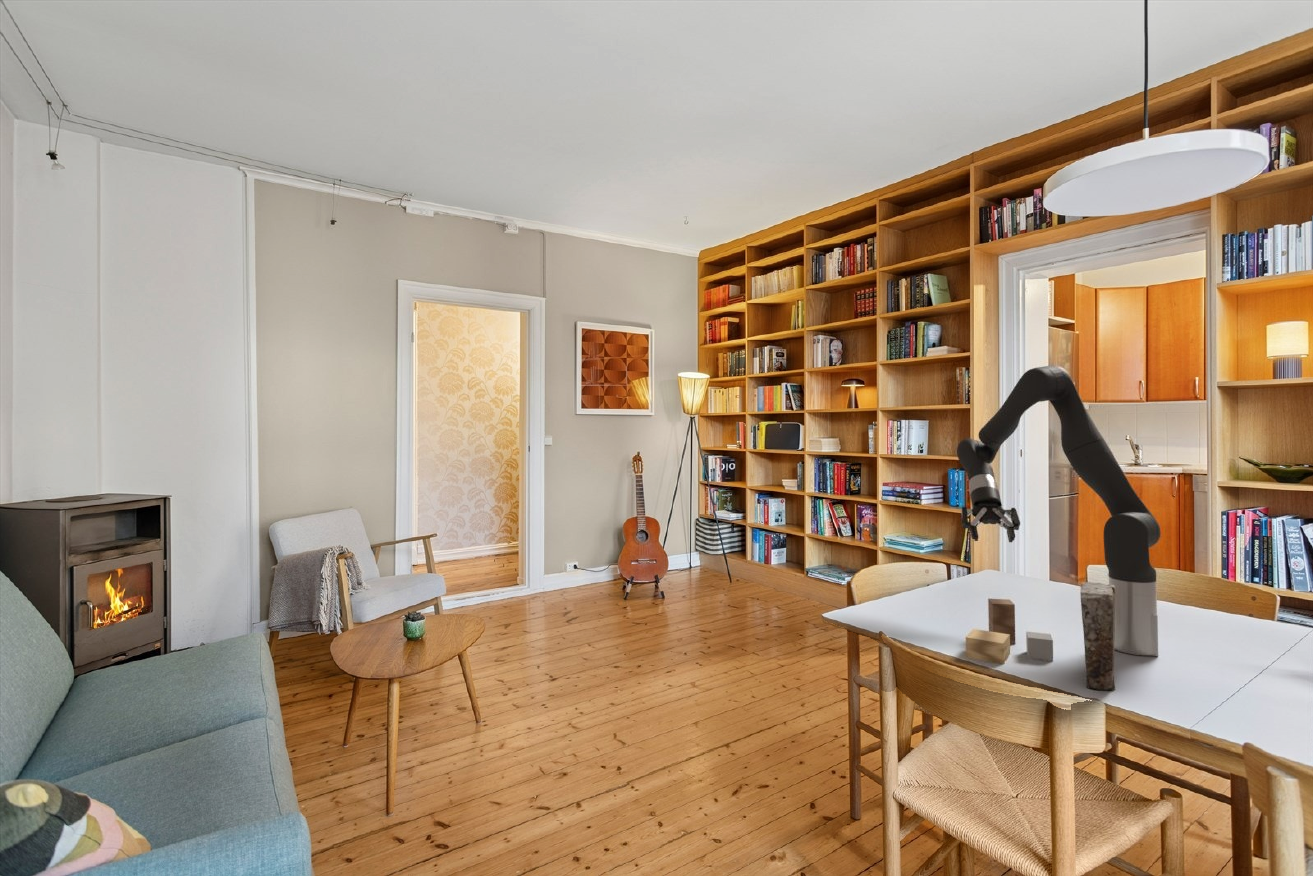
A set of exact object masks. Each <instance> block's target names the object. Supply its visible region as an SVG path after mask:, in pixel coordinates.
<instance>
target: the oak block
mask: <svg viewBox="0 0 1313 876" xmlns="http://www.w3.org/2000/svg"><path fill="white" fill-rule="evenodd" d="M1009 655H1010V656H1011V644H1010V634H1003V633H997V632H991V631H989V630H985V629H984V630H983V629H977V628H972V630H971V631H970V632H969V633H968V634H967V635H966V636H965V658H968V659H972V660H979V661H984V662H989V663H995V664H999V665H1005V663H1006V662H1007V661H1008V659H1009V657H1010V656H1009ZM1005 661H1006V662H1005Z"/></svg>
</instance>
